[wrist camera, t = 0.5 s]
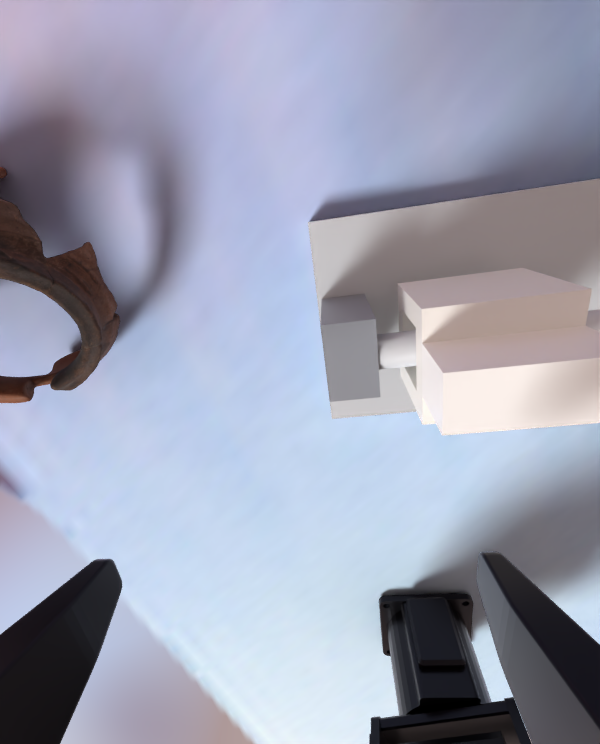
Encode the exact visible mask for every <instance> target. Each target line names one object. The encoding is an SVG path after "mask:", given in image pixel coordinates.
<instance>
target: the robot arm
mask: <svg viewBox="0 0 600 744" xmlns="http://www.w3.org/2000/svg"><path fill="white" fill-rule="evenodd" d="M477 585H478V589H479V593H480V596H481V599H482V603H483V606H484V610H485V613H486V616H487V620H488V623H489V627H490V630H491V633H492V637H493V640H494V644H495V647H496V650H497V654H498V657H499V660H500V663H501V666H502V669H503V671H504V674H505V677H506V679H507V682H508V684H509V687H510V689H511V692H512V694H513V697H514V698H513V697H511V698H504V700H505V701H498V702H491V699H490V696H489V693H488V690H487V687H486V684H485V681H484V678H483V675H482V672H481V669H480V666H479V663H478V660H477V657H476V654H475V651H474V648H473V645H472V642H471V626H472V612H473V601H472V599H471V596H470V595H469V594H434V595H403V596H383V597H381V598H380V599H379V609H380V621H381V633H382V645H383V653H384V654H385V655H387V656H391V661H392V668H393V675H394V682H395V689H396V696H397V703H398V710H399V716H393V717H386V718H380V716H379V717H372V718H371V734H370V744H531V742H532V744H600V644H598V643H597V642H596V641H595V640H594V639H593V638H592V637H591V636H590V635H589V634H588V633H587V632H585V631H584V630H583V629H582V628H581V627H580V626H579V625H578V624H577V623H576V622H575V621H574V620H572V619H571V618H570V617H569V616H568V615H567V614H566V613H565V612H564V611H563V610H562V609H561V608H559V607H558V606H557V605H556V604H555V603H554V602H553V601H552V600H551V599H550V598H549V597H548V596H546V595H545V594H544V593H543V592H542V591H541V590H540V589H539V588H538V587H537V586H536V585H535V584H533V583H532V582H531V581H530V580H529V579H528V578H527V577H526V576H525V575H524V574H523V573H522V572H520V571H519V570H518V569H517V568H516V567H515V566H514V565H513V564H512V563H511V562H510V561H509V560H507V559H506V558H505V557H504V556H503V555H502V554H501V553H499V552H481V553H480V554H479V558H478V568H477ZM121 589H122V580H121V577H120V575H119V572H118V570H117V568H116V565H115V563H114V561H113V560H111V559H97V560H94V561H93V562H91V563H90V564H89V565H87V566H86V567H85V568H84V569H82V570H81V571H80V572H79V573H78V574H76V575H75V576H74V577H72V578H71V579H70V580H69V581H67V582H66V583H65V584H63V585H62V586H61V587H60V588H58V590H56V591H55V592H53V593H52V594H51V595H50V596H48V597H47V598H46V599H45V600H43V601H42V602H41V603H40V604H38V605H37V606H36V607H35V608H33V609H32V610H31V611H29V612H28V613H27V614H26V615H25V616H23V617H22V618H21V619H19V620H18V621H17V622H16V623H14V624H13V625H12V626H11V627H9V628H8V629H7V630H5V631H4V632H3V633H2V634H1V635H0V744H60V743H61V740H62V738H63V735H64V733H65V731H66V729H67V727H68V725H69V722H70V720H71V718H72V716H73V713H74V711H75V709H76V706H77V704H78V702H79V700H80V697H81V695H82V693H83V691H84V688H85V686H86V684H87V682H88V679H89V677H90V675H91V673H92V670H93V668H94V665H95V663H96V661H97V658H98V656H99V653H100V651H101V648H102V645H103V642H104V639H105V636H106V633H107V630H108V628H109V625H110V622H111V619H112V616H113V613H114V610H115V608H116V605H117V602H118V599H119V596H120V593H121ZM514 699H515V700H514ZM515 702H516V703H515ZM516 704H517V705H516ZM517 707H518V708H517ZM518 709H519V710H518ZM519 712H520V713H519ZM520 714H521V716H520ZM521 717H522V718H521ZM522 719H523V721H522ZM523 722H524V723H523ZM524 724H525V726H524ZM525 727H526V728H525ZM526 729H527V731H526ZM527 732H528V734H529V736H528V734H527ZM529 737H530V739H531V741H530V739H529Z"/></svg>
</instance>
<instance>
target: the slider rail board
mask: <svg viewBox="0 0 600 744" xmlns="http://www.w3.org/2000/svg"><path fill="white" fill-rule="evenodd" d="M308 227H309V235H310V243H311V251H312V259H313V267H314V276H315V284H316V292H317V300H318V308H319V317H320V325H321V333H322V341H323V350H324V358H325V366H326V374H327V382H328V391H329V399H330V406H331V415H332V419H336V418H348V417H359V416H371V415H382V414H393V413H405V412H416V409H415V406H414V404H413V402H412V400H411V398H410V395H409V393H408V391H407V389H406V386H405V384H404V382H403V380H402V377H401V373H400V367H410V366H416V330H411V331H402V332H399V315H398V285H397V283H405V282H413V281H421V280H429V279H437V278H445V277H453V276H460V275H468V274H476V273H484V272H492V271H500V270H508V269H516V268H525V269H528V270H532V271H535V272H538V273H542V274H545V275H548V276H551V277H555V278H558V279H561V280H564V281H568V282H571V283H574V284H578V285H581V286H584V287H587V288H591V289H592V292H591V298H590V304H589V309H588V315H587V321H586V326H588V327H590V328H592V329H594V330H597V331H599V332H600V178H598V179H591V180H584V181H578V182H571V183H564V184H558V185H551V186H544V187H538V188H531V189H524V190H518V191H511V192H504V193H498V194H491V195H484V196H478V197H471V198H464V199H458V200H451V201H444V202H438V203H431V204H424V205H417V206H411V207H404V208H397V209H391V210H384V211H377V212H371V213H364V214H357V215H351V216H344V217H337V218H331V219H324V220H317V221H311V222H308Z"/></svg>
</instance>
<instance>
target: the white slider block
mask: <svg viewBox="0 0 600 744" xmlns="http://www.w3.org/2000/svg"><path fill="white" fill-rule="evenodd" d="M397 285H398V315H399V332H402V331H411V330H416V366H410V367H400V373H401V377H402V380H403V382H404V384H405V386H406V389H407V391H408V393H409V395H410V398H411V400H412V402H413V404H414V406H415V409H416V411H417V413H418V415H419V418H420V420H421V422H422V424H423V425H425V424H437V426H438V428H439V430H440V432H441V434H442V435H454V434H467V433H479V432H492V431H504V430H517V429H529V428H542V427H554V426H567V425H580V424H592V423H600V332H599V331H597V330H594V329H592V328H590V327H588V326H586V321H587V315H588V309H589V304H590V298H591V292H592V289H591V288H587V287H584V286H581V285H578V284H574V283H571V282H568V281H564V280H561V279H558V278H555V277H551V276H548V275H545V274H542V273H538V272H535V271H532V270H528V269H525V268H516V269H508V270H500V271H492V272H484V273H476V274H468V275H460V276H453V277H445V278H437V279H429V280H421V281H413V282H405V283H397Z"/></svg>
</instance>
